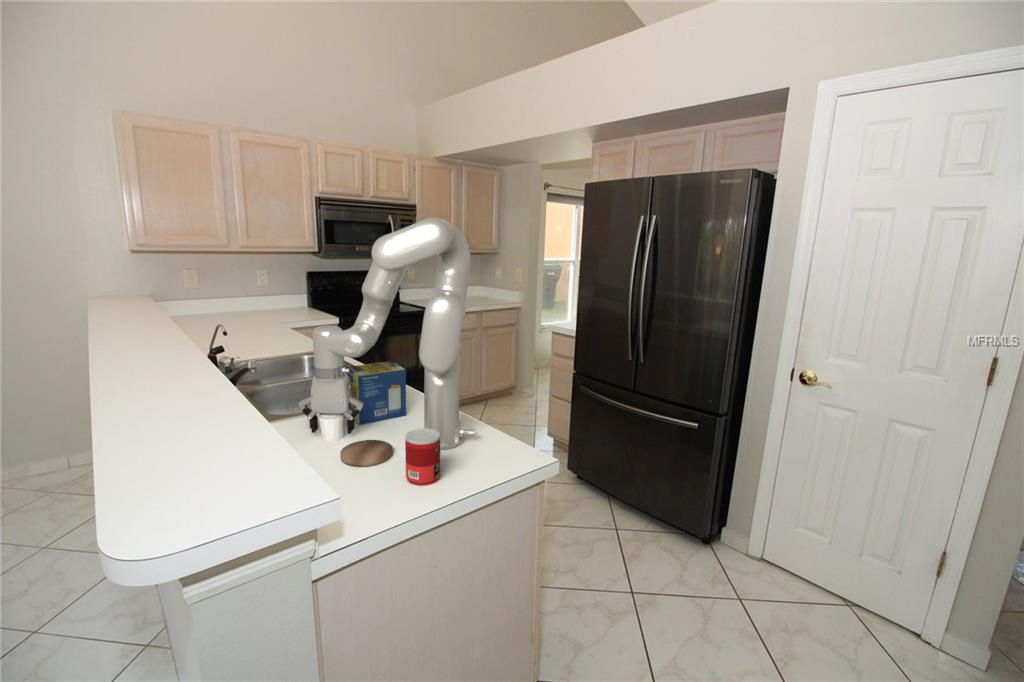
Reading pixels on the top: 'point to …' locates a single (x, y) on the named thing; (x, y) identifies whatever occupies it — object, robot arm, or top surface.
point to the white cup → (332, 426)
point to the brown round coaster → (366, 453)
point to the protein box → (378, 391)
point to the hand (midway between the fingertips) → (332, 431)
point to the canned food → (422, 456)
